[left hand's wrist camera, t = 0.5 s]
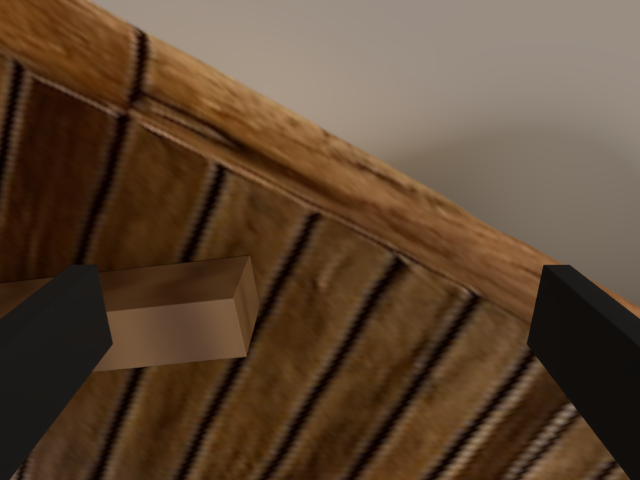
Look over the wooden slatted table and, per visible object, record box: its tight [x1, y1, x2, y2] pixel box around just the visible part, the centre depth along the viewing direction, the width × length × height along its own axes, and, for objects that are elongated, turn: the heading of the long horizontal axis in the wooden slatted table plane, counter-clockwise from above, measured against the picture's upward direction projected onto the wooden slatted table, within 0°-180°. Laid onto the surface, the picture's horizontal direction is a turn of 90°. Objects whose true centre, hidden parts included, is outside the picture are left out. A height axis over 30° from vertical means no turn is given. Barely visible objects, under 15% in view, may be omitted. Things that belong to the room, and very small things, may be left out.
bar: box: [0, 256, 260, 372], centre depth 36 cm, size 26×5×8 cm, turn 97°
